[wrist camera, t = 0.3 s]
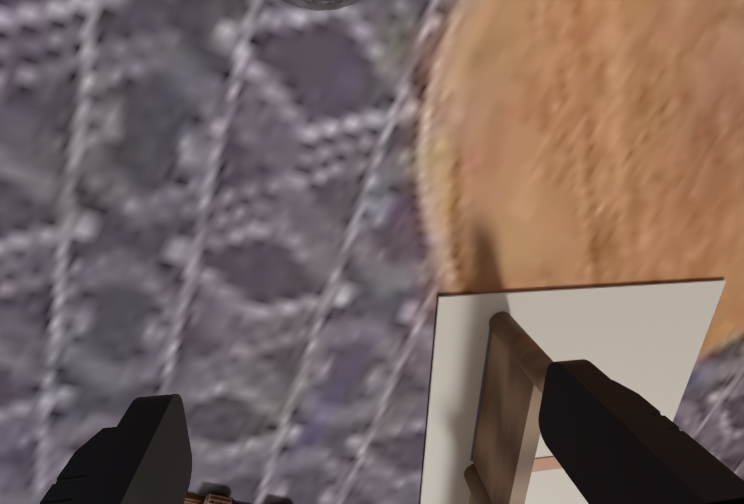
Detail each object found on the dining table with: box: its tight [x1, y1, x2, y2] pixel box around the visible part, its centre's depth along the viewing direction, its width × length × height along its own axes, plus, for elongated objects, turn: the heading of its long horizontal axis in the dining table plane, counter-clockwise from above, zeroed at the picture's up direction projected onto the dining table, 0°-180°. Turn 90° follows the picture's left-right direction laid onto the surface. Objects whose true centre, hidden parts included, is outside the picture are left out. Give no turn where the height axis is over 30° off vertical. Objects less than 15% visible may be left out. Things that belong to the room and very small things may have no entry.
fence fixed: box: [464, 311, 553, 504], centre depth 29 cm, size 18×2×8 cm, turn 179°
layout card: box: [420, 280, 726, 504], centre depth 36 cm, size 34×24×1 cm
